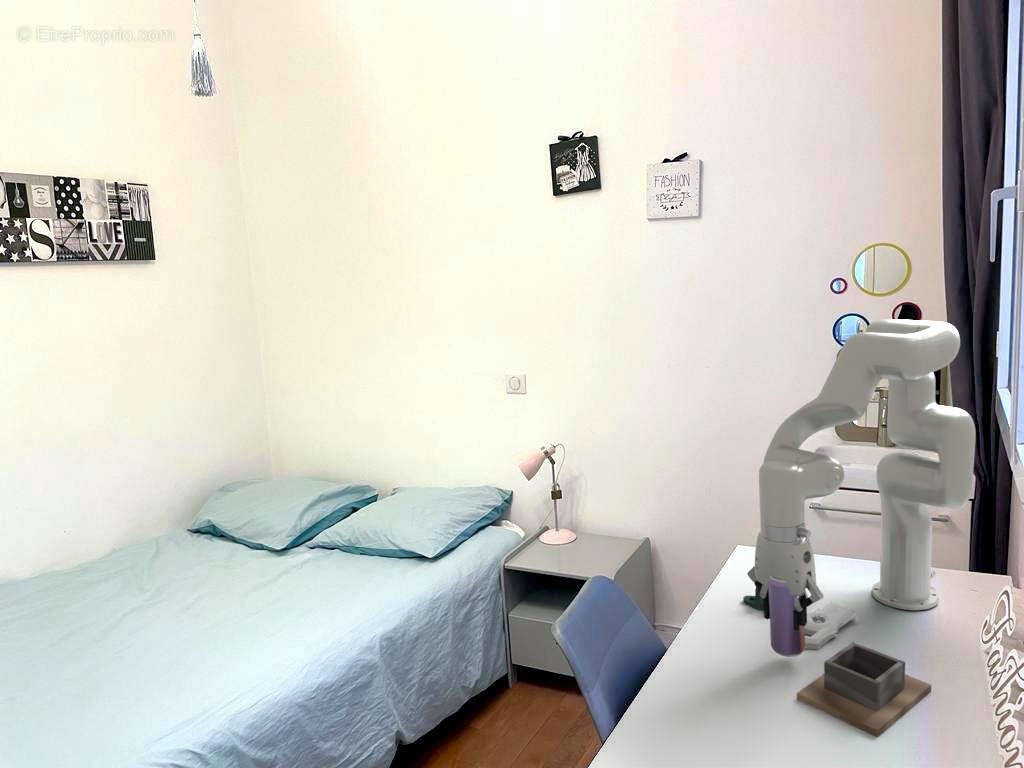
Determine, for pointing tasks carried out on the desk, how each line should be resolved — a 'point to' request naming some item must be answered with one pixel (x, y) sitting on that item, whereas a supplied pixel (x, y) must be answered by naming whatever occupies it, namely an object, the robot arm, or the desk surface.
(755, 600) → the mount
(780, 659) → the desk surface
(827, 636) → the grey mechanical plate
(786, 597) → the beverage can
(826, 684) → the can dock
